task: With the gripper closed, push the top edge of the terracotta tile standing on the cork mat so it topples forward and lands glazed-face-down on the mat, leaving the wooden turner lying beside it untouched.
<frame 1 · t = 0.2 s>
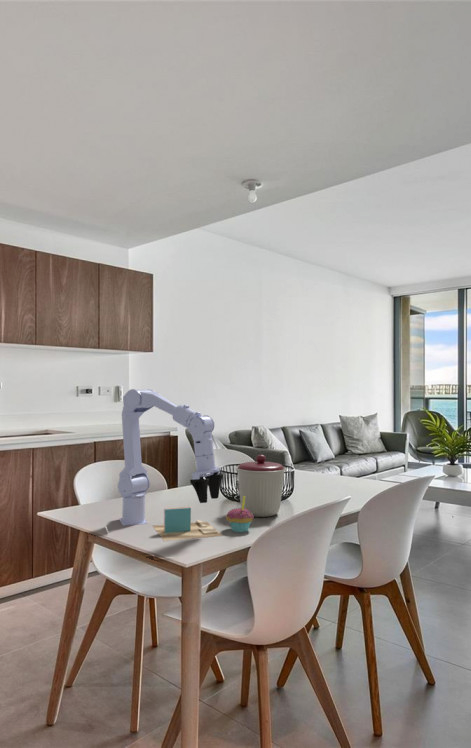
hand: (209, 500, 161), 11 cm above the table, tool pointing down, fingers open, 7 cm apart
tile: (177, 531, 163), resting on cork mat
wooden turner: (205, 529, 166), resting on cork mat
cork mat: (186, 532, 164), on the table
canister: (260, 514, 190), on the table
cupcake: (239, 532, 166), on the table
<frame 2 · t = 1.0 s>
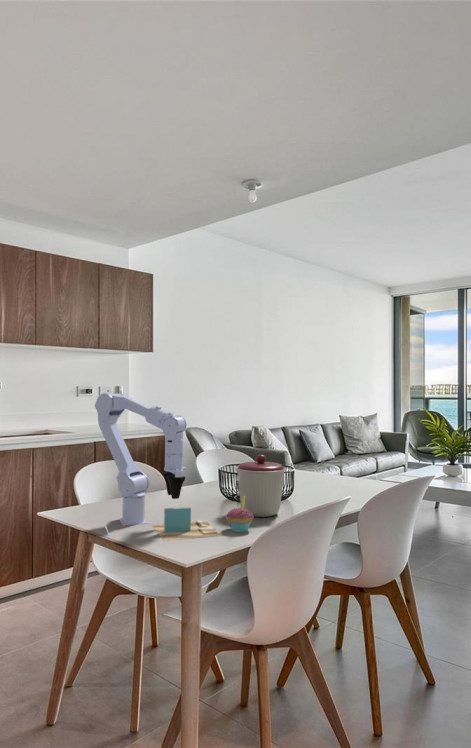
hand: (173, 496, 169), 10 cm above the table, tool pointing down, fingers open, 5 cm apart
nothing on the table moved.
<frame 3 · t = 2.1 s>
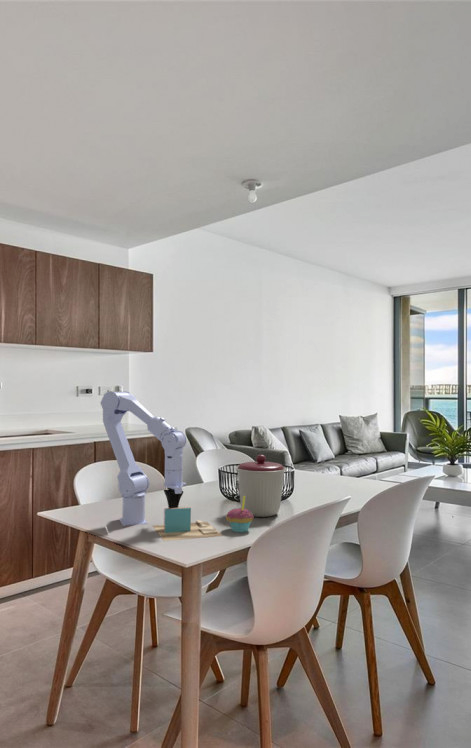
hand: (173, 512, 169), 5 cm above the table, tool pointing down, fingers closed
nothing on the table moved.
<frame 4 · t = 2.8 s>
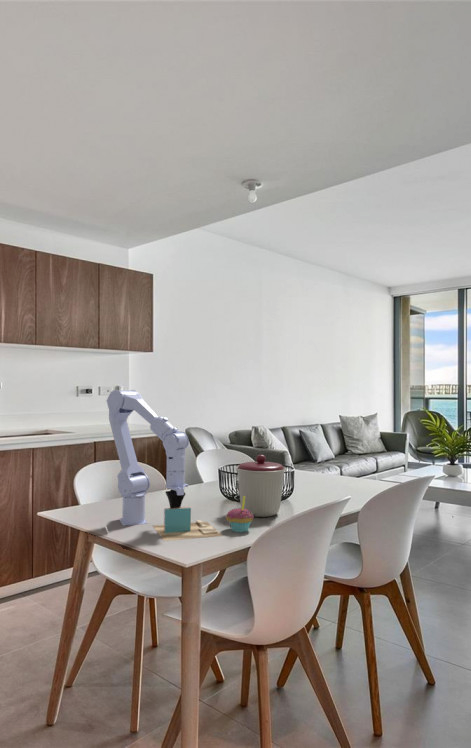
hand: (175, 514, 167), 5 cm above the table, tool pointing down, fingers closed
nothing on the table moved.
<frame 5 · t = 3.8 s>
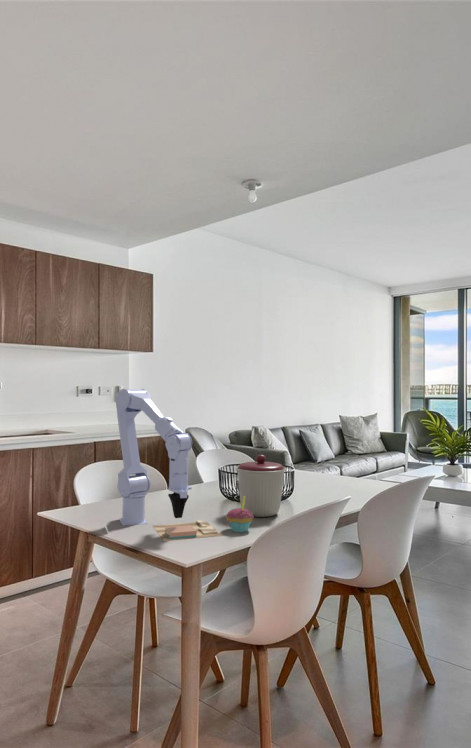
hand: (178, 517, 163), 5 cm above the table, tool pointing down, fingers closed
tile: (177, 529, 163), point 1 cm above the table, tilted 90°, touching cork mat
everything else where it was.
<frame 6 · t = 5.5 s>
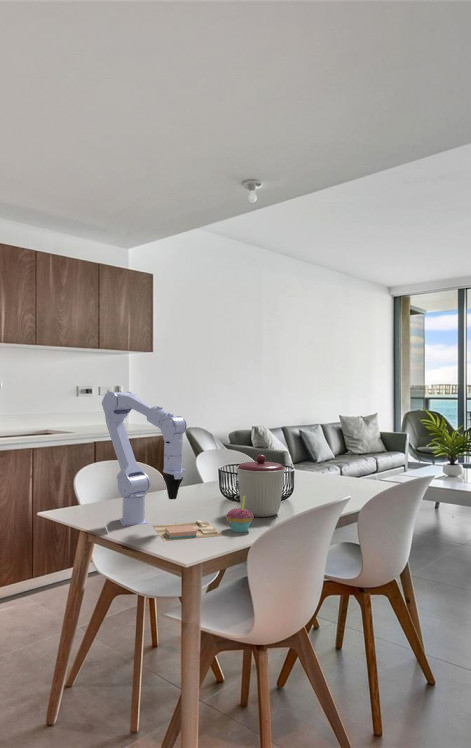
hand: (172, 498, 166), 10 cm above the table, tool pointing down, fingers closed
nothing on the table moved.
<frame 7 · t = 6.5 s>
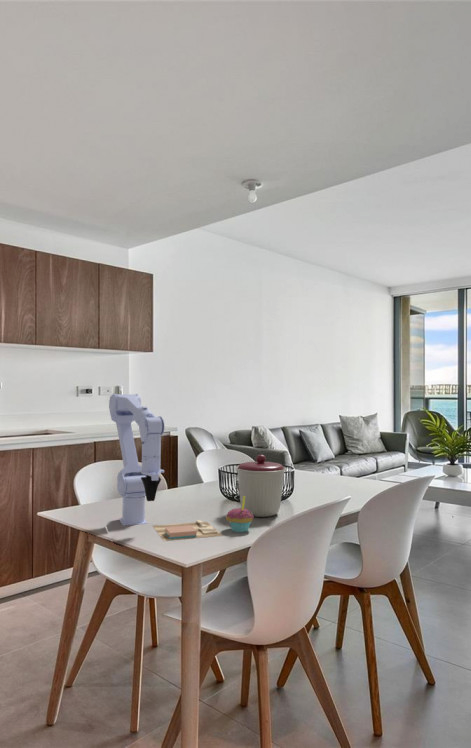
hand: (150, 500, 163), 10 cm above the table, tool pointing down, fingers closed
nothing on the table moved.
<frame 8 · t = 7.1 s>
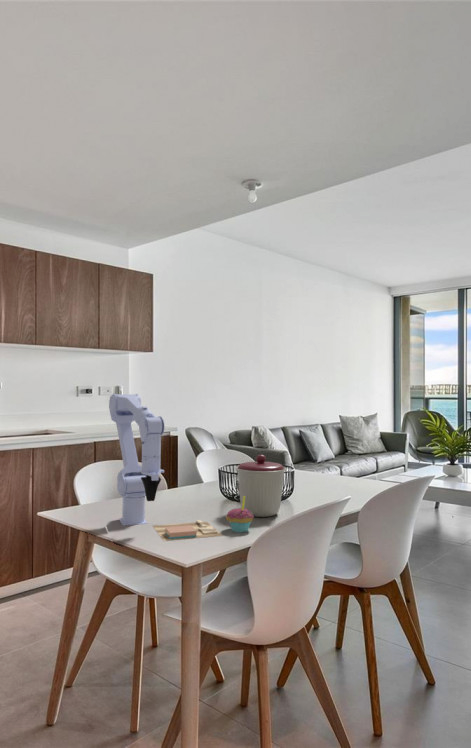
hand: (150, 500, 163), 10 cm above the table, tool pointing down, fingers closed
nothing on the table moved.
at the end: tile tilted 90°; tile inside the target area (2.5 cm from its centre), point 1.4 cm above the table; wooden turner moved 0.1 cm from its start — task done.
